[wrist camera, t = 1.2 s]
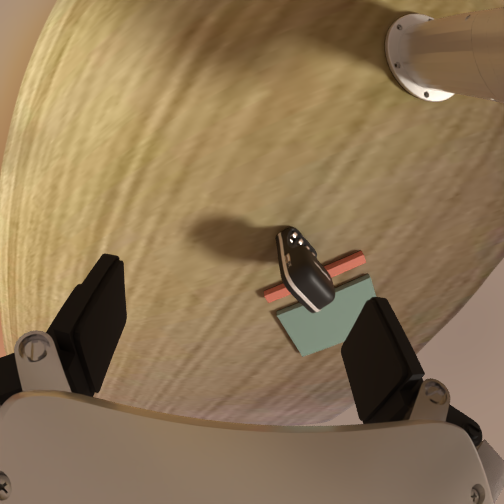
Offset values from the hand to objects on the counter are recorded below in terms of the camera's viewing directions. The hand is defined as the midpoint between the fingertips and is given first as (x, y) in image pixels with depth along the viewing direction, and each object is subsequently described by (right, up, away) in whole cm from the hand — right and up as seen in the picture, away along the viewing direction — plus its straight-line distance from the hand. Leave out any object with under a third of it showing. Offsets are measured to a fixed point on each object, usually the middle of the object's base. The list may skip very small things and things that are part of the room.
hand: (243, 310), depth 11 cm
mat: (+14, -9, +38) cm, 42 cm away
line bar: (+10, -1, +34) cm, 35 cm away
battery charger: (+7, +3, +31) cm, 32 cm away
